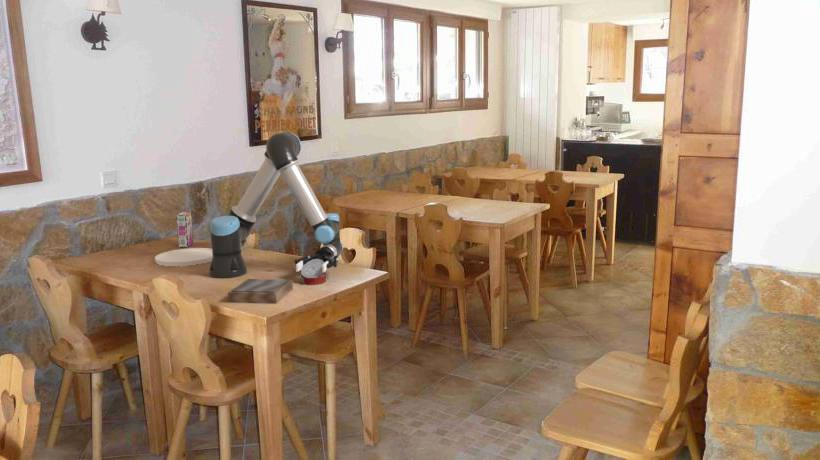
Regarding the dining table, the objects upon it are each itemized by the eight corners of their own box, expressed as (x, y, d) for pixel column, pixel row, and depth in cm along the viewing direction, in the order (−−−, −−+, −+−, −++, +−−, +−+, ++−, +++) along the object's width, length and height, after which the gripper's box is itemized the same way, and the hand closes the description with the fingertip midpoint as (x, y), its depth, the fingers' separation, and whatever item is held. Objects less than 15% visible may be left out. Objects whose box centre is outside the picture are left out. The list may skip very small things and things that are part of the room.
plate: (183, 270, 295) (183, 264, 295) (141, 263, 310) (141, 257, 310) (232, 256, 319) (231, 251, 318) (190, 250, 333) (190, 245, 333)
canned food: (327, 292, 272) (335, 272, 268) (306, 294, 265) (314, 274, 261) (313, 274, 279) (320, 254, 274) (292, 276, 272) (299, 256, 268)
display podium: (228, 302, 246) (227, 291, 245) (247, 288, 263) (247, 278, 263) (276, 303, 243) (275, 292, 242) (292, 289, 260) (292, 279, 260)
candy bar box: (188, 247, 338) (186, 215, 335) (178, 248, 338) (175, 215, 335) (193, 243, 349) (191, 211, 346) (183, 243, 349) (181, 211, 346)
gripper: (352, 264, 285) (338, 278, 264) (300, 263, 289) (282, 277, 267) (351, 246, 284) (337, 259, 262) (299, 246, 288) (281, 258, 266)
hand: (310, 268), depth 265 cm, fingers closed on canned food, 10 cm apart
